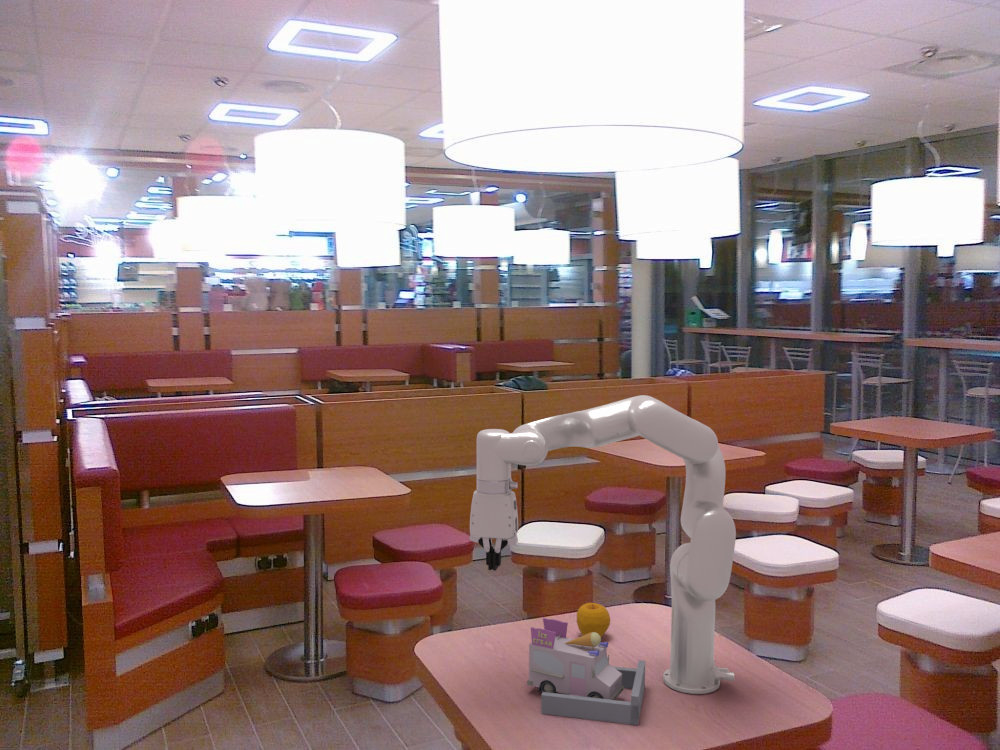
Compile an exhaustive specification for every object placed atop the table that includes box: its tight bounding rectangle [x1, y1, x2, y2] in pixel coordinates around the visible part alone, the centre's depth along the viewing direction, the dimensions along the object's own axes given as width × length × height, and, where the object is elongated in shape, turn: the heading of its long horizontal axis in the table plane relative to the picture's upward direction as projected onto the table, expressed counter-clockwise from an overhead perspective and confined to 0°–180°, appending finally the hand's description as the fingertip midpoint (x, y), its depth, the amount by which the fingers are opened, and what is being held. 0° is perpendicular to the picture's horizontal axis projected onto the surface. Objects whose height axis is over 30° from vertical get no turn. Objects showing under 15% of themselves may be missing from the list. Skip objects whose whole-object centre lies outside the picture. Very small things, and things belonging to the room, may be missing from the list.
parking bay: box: [540, 660, 646, 726], centre depth 188 cm, size 20×18×6 cm
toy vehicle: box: [526, 617, 625, 700], centre depth 189 cm, size 9×20×15 cm, turn 62°
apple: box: [576, 602, 611, 638], centre depth 222 cm, size 9×8×9 cm
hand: (493, 568), depth 191 cm, fingers closed
